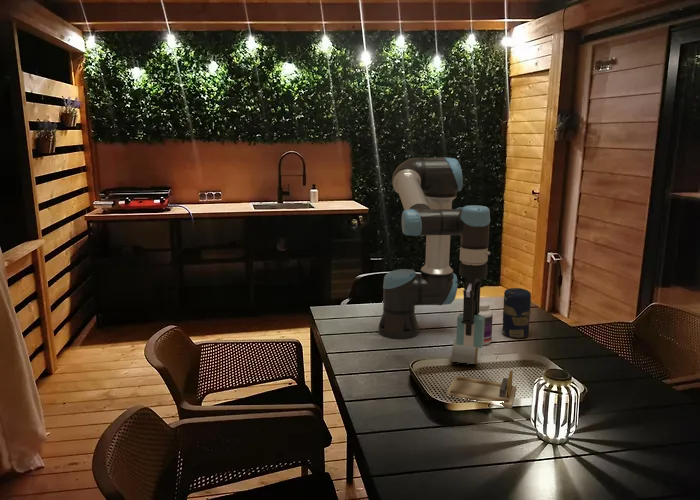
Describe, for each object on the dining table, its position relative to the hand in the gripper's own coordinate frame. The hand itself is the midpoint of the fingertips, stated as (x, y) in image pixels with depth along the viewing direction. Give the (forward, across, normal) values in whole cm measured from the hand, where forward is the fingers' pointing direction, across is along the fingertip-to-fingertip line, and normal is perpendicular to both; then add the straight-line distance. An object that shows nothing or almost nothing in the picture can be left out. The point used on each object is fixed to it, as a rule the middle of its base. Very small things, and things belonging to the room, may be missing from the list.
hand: (470, 342), depth 157 cm
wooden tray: (+15, +1, -4) cm, 16 cm away
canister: (+15, +53, -7) cm, 55 cm away
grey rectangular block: (+15, +21, +6) cm, 27 cm away
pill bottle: (+15, +40, +4) cm, 43 cm away
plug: (0, 0, 0) cm, 0 cm away
